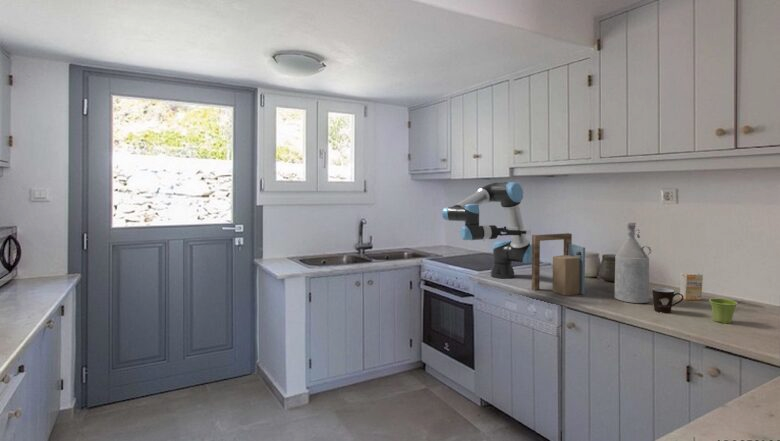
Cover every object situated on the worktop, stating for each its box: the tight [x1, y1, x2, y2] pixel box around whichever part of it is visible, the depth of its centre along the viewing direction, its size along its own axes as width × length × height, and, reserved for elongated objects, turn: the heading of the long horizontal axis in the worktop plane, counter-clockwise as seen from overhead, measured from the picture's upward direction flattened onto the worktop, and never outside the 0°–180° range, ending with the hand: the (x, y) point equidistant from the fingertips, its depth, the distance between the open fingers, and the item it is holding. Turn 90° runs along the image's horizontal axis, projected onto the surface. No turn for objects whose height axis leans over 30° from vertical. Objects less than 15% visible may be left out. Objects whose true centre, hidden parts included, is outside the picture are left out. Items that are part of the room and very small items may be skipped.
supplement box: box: [679, 272, 703, 301], centre depth 216 cm, size 8×5×13 cm, turn 89°
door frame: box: [531, 232, 573, 291], centre depth 244 cm, size 3×24×31 cm, turn 104°
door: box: [568, 243, 586, 295], centre depth 236 cm, size 17×3×25 cm, turn 3°
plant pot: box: [708, 298, 738, 324], centre depth 181 cm, size 9×9×9 cm
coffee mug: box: [651, 287, 684, 314], centre depth 196 cm, size 12×9×10 cm
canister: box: [614, 221, 652, 304], centre depth 215 cm, size 13×17×40 cm
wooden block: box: [552, 254, 581, 297], centre depth 233 cm, size 10×10×20 cm
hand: (523, 230), depth 237 cm, fingers open, 13 cm apart
